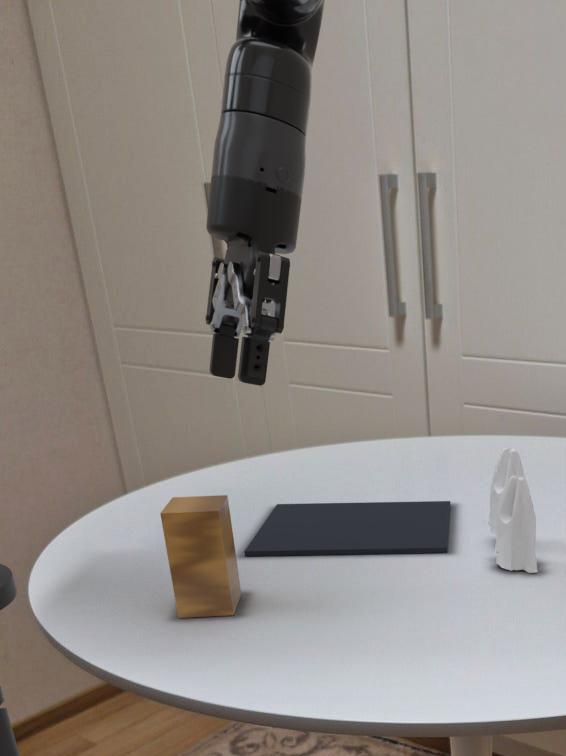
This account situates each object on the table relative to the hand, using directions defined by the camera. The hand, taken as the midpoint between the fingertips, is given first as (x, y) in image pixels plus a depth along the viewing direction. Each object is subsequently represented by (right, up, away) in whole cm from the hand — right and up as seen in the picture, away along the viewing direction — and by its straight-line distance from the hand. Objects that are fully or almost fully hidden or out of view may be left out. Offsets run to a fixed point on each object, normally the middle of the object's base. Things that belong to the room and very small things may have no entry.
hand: (235, 380), depth 79 cm
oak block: (-4, -20, +4) cm, 21 cm away
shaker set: (+25, -14, +16) cm, 33 cm away
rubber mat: (+7, -10, +25) cm, 28 cm away
